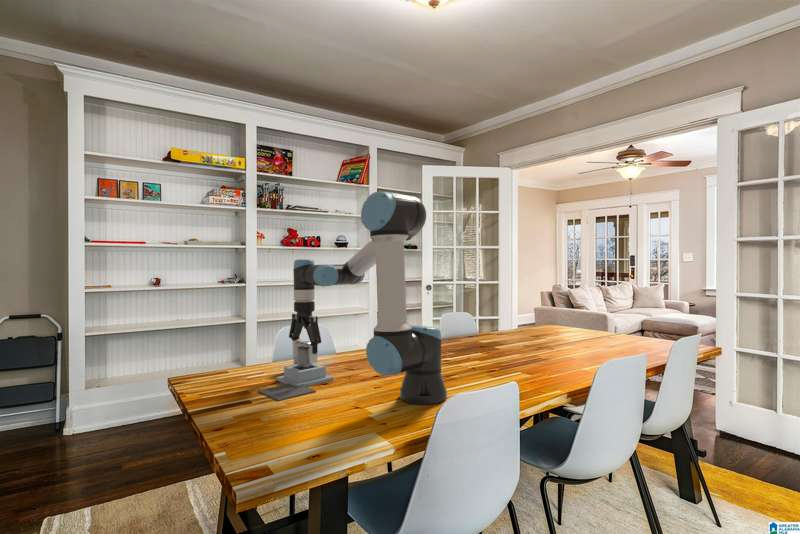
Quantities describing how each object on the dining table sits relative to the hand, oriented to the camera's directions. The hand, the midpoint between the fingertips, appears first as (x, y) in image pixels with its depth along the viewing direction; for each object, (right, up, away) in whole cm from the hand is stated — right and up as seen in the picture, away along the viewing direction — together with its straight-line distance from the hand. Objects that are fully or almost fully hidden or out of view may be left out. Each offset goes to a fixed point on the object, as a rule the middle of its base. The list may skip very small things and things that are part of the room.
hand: (304, 359), depth 161 cm
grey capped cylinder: (0, -8, 0) cm, 8 cm away
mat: (-3, -8, -14) cm, 16 cm away
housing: (0, -8, 0) cm, 8 cm away
